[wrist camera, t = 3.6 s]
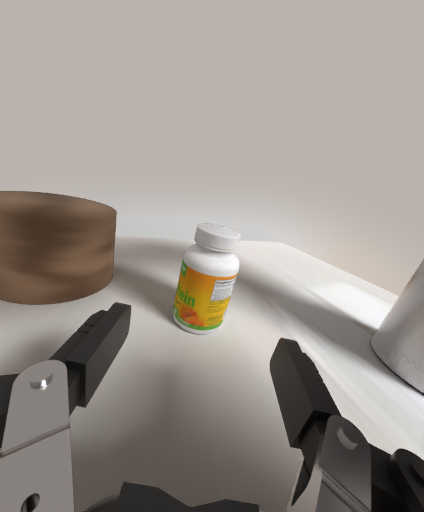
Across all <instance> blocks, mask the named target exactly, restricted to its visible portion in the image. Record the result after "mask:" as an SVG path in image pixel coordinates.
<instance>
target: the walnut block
mask: <svg viewBox="0 0 424 512" xmlns="http://www.w3.org/2000/svg"><path fill="white" fill-rule="evenodd" d="M116 215H117V212H116V211H115V209H113V208H112V207H109V206H108V205H105V204H102V203H99V202H96V201H92V200H87V199H83V198H78V197H72V196H66V195H59V194H51V193H41V192H26V191H0V299H1V300H4V301H7V302H12V303H18V304H29V305H42V304H55V303H63V302H69V301H73V300H77V299H80V298H84V297H87V296H89V295H92V294H94V293H96V292H98V291H100V290H102V289H103V288H104V287H106V286H107V285H108V284H109V283H110V281H111V280H112V277H113V263H114V247H115V231H116Z"/></svg>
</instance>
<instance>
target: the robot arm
mask: <svg viewBox="0 0 424 512" xmlns="http://www.w3.org/2000/svg"><path fill="white" fill-rule="evenodd" d="M130 316H131V305H127V304H123V303H118V302H115V303H114V304H113V305H112V306H111V308H110V309H109V310H108V311H104V310H101V311H99V312H97V313H95V314H93V315H91V316H90V317H89V318H88V319H87V320H86V322H85V323H84V324H83V325H82V326H81V327H80V328H79V329H78V330H77V332H75V333H74V334H73V335H72V336H71V337H70V338H69V339H68V340H67V341H66V342H65V343H64V344H63V345H62V346H61V348H60V349H59V350H58V351H57V352H56V353H55V354H54V355H53V356H52V357H51V358H50V359H49V360H46V361H42V362H39V363H36V364H34V365H32V366H30V367H28V368H27V369H25V370H24V371H23V372H21V373H20V374H12V375H2V376H0V448H1V452H0V512H74V500H73V480H72V459H71V439H70V423H69V417H70V415H71V413H72V412H73V410H74V409H75V407H76V406H80V407H85V408H86V406H87V404H88V402H89V401H90V399H91V397H92V396H93V394H94V392H95V391H96V389H97V387H98V386H99V384H100V382H101V381H102V379H103V377H104V376H105V374H106V372H107V370H108V369H109V367H110V365H111V364H112V362H113V360H114V359H115V357H116V355H117V354H118V352H119V350H120V349H121V347H122V345H123V344H124V342H125V340H126V338H127V335H128V332H129V326H130ZM371 345H372V347H373V350H374V351H375V352H376V354H377V355H378V357H379V358H380V359H381V360H382V361H383V362H384V363H385V364H386V365H387V366H388V367H389V368H390V369H391V370H392V371H394V372H395V373H396V374H397V375H399V376H400V377H401V378H402V379H404V380H405V381H406V382H408V383H409V384H411V385H412V386H413V387H415V388H416V389H418V390H419V391H421V392H423V393H424V259H423V261H422V262H421V264H420V266H419V267H418V269H417V270H416V272H415V273H414V275H413V276H412V278H411V280H410V281H409V283H408V284H407V286H406V287H405V289H404V290H403V292H402V293H401V295H400V296H399V298H398V299H397V301H396V302H395V304H394V306H393V307H392V309H391V310H390V312H389V313H388V315H387V316H386V318H385V319H384V321H383V322H382V324H381V325H380V327H379V329H378V330H377V332H376V333H375V335H374V336H373V338H372V340H371ZM270 373H271V376H272V380H273V384H274V387H275V391H276V395H277V399H278V402H279V406H280V410H281V414H282V417H283V421H284V425H285V428H286V432H287V436H288V440H289V443H290V447H293V448H298V449H301V450H302V453H303V457H302V459H301V461H300V464H299V468H298V471H297V475H296V478H295V481H294V485H293V488H292V492H291V495H290V498H289V502H288V505H287V509H286V511H285V512H424V461H423V460H422V459H421V458H420V457H418V456H417V455H416V454H414V453H412V452H410V451H408V450H406V449H397V450H396V451H395V452H394V453H393V454H392V455H390V454H388V453H386V452H385V451H383V450H381V449H379V448H377V447H375V446H373V445H371V444H369V443H368V442H367V440H366V438H365V437H364V435H363V434H362V433H361V432H360V430H359V429H358V428H357V427H356V426H355V425H354V424H353V423H351V422H350V421H349V420H347V419H345V418H343V417H342V416H341V414H340V412H339V410H338V408H337V406H336V405H335V403H334V401H333V399H332V397H331V395H330V393H329V391H328V389H327V387H326V385H325V383H323V380H322V378H321V376H320V374H319V372H318V370H317V368H316V366H315V364H314V362H313V361H312V360H311V359H310V358H309V357H308V356H307V355H306V353H302V351H301V349H300V347H299V345H298V343H297V341H294V340H290V339H285V338H280V340H279V341H278V344H277V346H276V348H275V350H274V353H273V355H272V357H271V360H270ZM83 512H259V507H258V505H256V504H250V503H244V502H239V501H233V500H227V499H225V500H221V501H217V502H213V503H209V504H205V505H200V506H196V507H189V506H187V505H185V504H184V503H182V502H180V501H179V500H177V499H175V498H174V497H172V496H170V495H169V494H167V493H165V492H164V491H162V490H161V489H159V488H157V487H151V486H145V485H139V484H133V483H128V482H123V485H122V488H121V491H120V494H118V495H114V496H111V497H108V498H105V499H103V500H101V501H99V502H97V503H95V504H93V505H92V506H90V507H89V508H87V509H86V510H85V511H83Z"/></svg>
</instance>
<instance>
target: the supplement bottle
mask: <svg viewBox="0 0 424 512" xmlns="http://www.w3.org/2000/svg"><path fill="white" fill-rule="evenodd" d="M239 240H240V234H239V233H238V232H236V231H234V230H232V229H230V228H227V227H224V226H220V225H215V224H208V223H202V224H198V226H197V230H196V234H195V242H196V244H194V245H191V246H189V247H188V248H187V249H186V250H185V252H184V256H183V260H182V266H181V271H180V276H179V281H178V286H177V291H176V296H175V301H174V306H173V318H174V320H175V322H176V323H177V324H178V325H179V326H180V327H181V328H183V329H185V330H186V331H189V332H191V333H196V334H208V333H212V332H214V331H216V330H217V329H218V328H219V327H220V326H221V324H222V322H223V319H224V316H225V313H226V310H227V306H228V303H229V300H230V296H231V293H232V290H233V287H234V283H235V280H236V277H237V274H238V270H239V260H238V258H237V257H236V255H235V254H233V252H234V251H236V249H237V248H238V244H239Z"/></svg>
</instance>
